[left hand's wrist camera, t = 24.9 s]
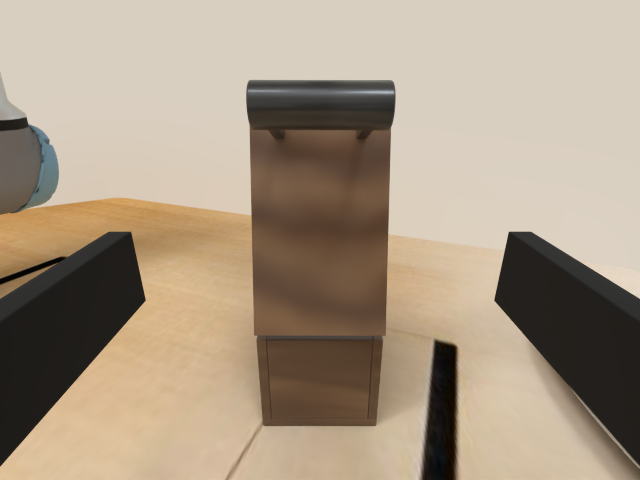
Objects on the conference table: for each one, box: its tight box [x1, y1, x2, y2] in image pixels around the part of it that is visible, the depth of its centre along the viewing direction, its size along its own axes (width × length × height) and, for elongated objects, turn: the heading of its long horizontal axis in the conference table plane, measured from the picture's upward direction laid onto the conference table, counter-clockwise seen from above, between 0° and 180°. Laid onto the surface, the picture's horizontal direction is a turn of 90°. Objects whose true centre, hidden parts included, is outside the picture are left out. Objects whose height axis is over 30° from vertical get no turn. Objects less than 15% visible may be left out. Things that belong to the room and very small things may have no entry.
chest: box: [257, 335, 383, 425], centre depth 36 cm, size 17×10×9 cm, turn 0°
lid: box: [246, 80, 395, 336], centre depth 21 cm, size 17×10×10 cm
